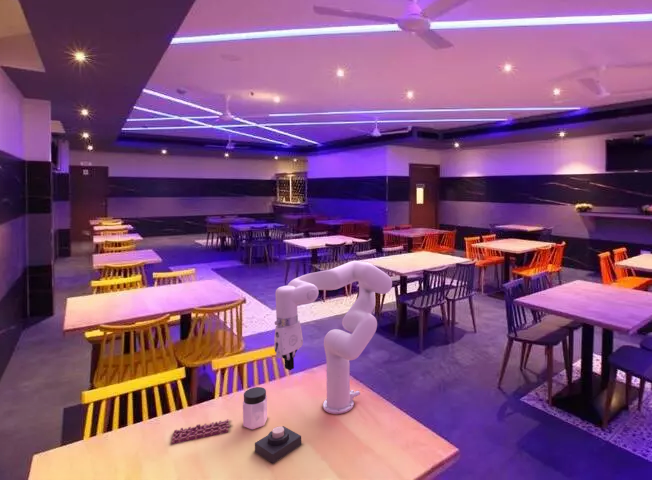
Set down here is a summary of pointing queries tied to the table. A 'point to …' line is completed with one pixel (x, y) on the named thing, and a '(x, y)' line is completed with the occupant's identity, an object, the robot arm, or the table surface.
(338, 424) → the table surface
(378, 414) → the table surface
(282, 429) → the pink short cylinder
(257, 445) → the black push button
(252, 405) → the jar
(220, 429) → the chocolate bar
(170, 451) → the table surface
